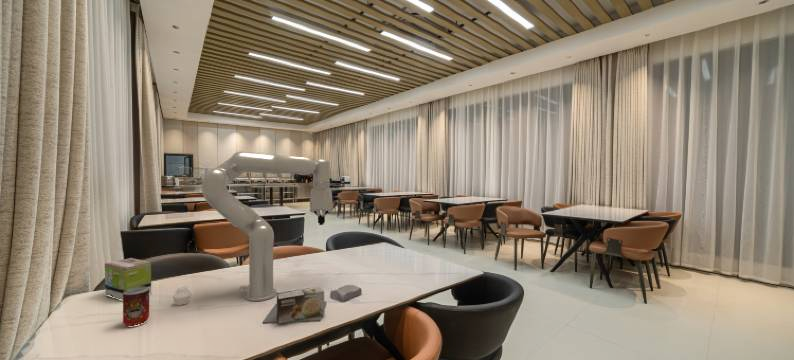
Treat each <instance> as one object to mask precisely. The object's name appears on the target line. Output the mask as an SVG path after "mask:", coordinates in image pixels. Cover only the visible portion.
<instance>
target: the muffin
mask: <svg viewBox="0 0 794 360" xmlns="http://www.w3.org/2000/svg"><path fill="white" fill-rule="evenodd" d="M191 296H192V292H191V290H189V289H188V288H187V287H186V286H179V287H178V288H177V289H176V291H175V293H174V294H173V295H172V299H173V301H174V303H175V304H176V305H177V306H178V305H181V306H183V305H182V304H185V305H186V303H187V304H188V302H189V300H190V298H191Z"/></svg>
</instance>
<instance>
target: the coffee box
mask: <svg viewBox="0 0 794 360" xmlns="http://www.w3.org/2000/svg"><path fill="white" fill-rule="evenodd" d="M324 301H325V290H324V289H323V287H322V286H316V287H315V286H314V287H307V288H301V289H295V290H290V291H283V292H282V291H281V292H277V295H276V303H277V321H278V323H277V324H278V325H279V324H280V325H281V324H285V322H290V321H295V320H300V319H305V318H310V317H315V316H320V315H322V316H324V315H325V309H324Z"/></svg>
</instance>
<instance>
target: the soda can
mask: <svg viewBox="0 0 794 360" xmlns="http://www.w3.org/2000/svg"><path fill="white" fill-rule="evenodd" d="M149 317H150V295H149V288H148V287H144V286H139V287H133V288H130V289H128V290H126V291H125V292H124V293H123V301H122V323H123V324H124V325H125V327H126V326H134V325H138V324H141V323H144V322H145V321H146V320H147V321H148V319H149Z"/></svg>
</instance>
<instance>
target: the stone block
mask: <svg viewBox="0 0 794 360" xmlns="http://www.w3.org/2000/svg"><path fill="white" fill-rule="evenodd" d="M361 294H362V287H359V286H358V285H355V284H347V285H342V286H341V287H339V288H336V289H333V290H330V294H329V296H330V299H331V300H334V301H338V302H341V303H345V302H347V301H350V300H351V299H354V298H357V297H359V296H361Z"/></svg>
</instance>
